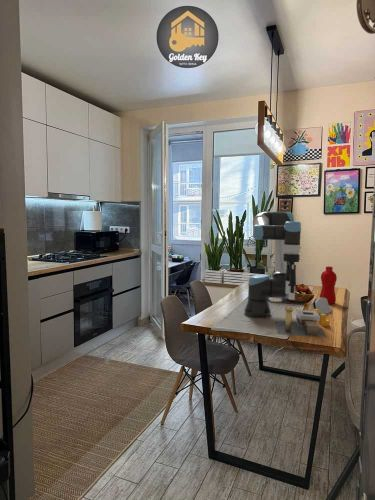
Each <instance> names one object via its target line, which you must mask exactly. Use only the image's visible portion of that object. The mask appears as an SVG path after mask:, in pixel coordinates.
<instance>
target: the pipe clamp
mask: <svg viewBox="0 0 375 500" xmlns="http://www.w3.org/2000/svg"><path fill="white" fill-rule="evenodd" d="M312 311H316V312H317V313H318V315H319V316H320V321H318V320H317V323H318V325H319V326H321V327H326V326H328V327H329V326H330V320H328V319H327V314H319V310H318V309H313V310H312Z"/></svg>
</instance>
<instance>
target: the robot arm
mask: <svg viewBox="0 0 375 500" xmlns="http://www.w3.org/2000/svg"><path fill="white" fill-rule="evenodd" d="M301 225H302V223H301V222H300V221H295V218H294V215H293V213H292V211H291V212H290V211H263V212H260V213H258V214H256V215H255V216H254V217H253V219H252V226H253V229H252V238H253V239H254V240H259V241H260V240H267V241H268V240H270V241H271V240H272V241H274V273H273V274H272V276H271V277H270V275H269V274H254V275H252V276H250V277H249V278H248V284H247V285H248V294H247V302H246V305H245V308H244V315H245V316H248V317H252V318H263V319H265V318H267V317H270V316H271V315H272V312H271V308H270V304H269V298H273V299H274V298H275V299H288V300H294V301H295V299H296V287H297V286H296V285H297V277H296V276H297V274H296V273H297V272H296V271H297V270H296V268H297V265H296V264H295V263H297V262H298V263H299V262H300V259H301V258H300V253H301V252H300V251H301V249H302V246H301V232H302V226H301Z"/></svg>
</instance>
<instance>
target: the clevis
mask: <svg viewBox="0 0 375 500" xmlns="http://www.w3.org/2000/svg"><path fill="white" fill-rule="evenodd" d="M295 311H296V312H295V315H296V316H295V322H296V324H297V326H298V328H299V329H306V334H307V335H314V336H318V330H320V329H321V327H320V326H321V325H319V324H318V323H317V320H318V321H320V314H319V315H318V313H317V312H316V311H313V310H306V309H305V310H303V309H296V310H295Z"/></svg>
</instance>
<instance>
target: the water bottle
mask: <svg viewBox="0 0 375 500" xmlns="http://www.w3.org/2000/svg"><path fill="white" fill-rule="evenodd" d="M333 268H334V267H333V266H325V270H324V271H322V273H321V275H320V281H321V290H320V293H319V298H326V299H327V301H328V304H329V305H334V304H335V303H336V302H337V300H336V299H337V297H336V291H335V286H336V283H337V280H338V276H337V273H336V272H334V271H333V270H334V269H333Z"/></svg>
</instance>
